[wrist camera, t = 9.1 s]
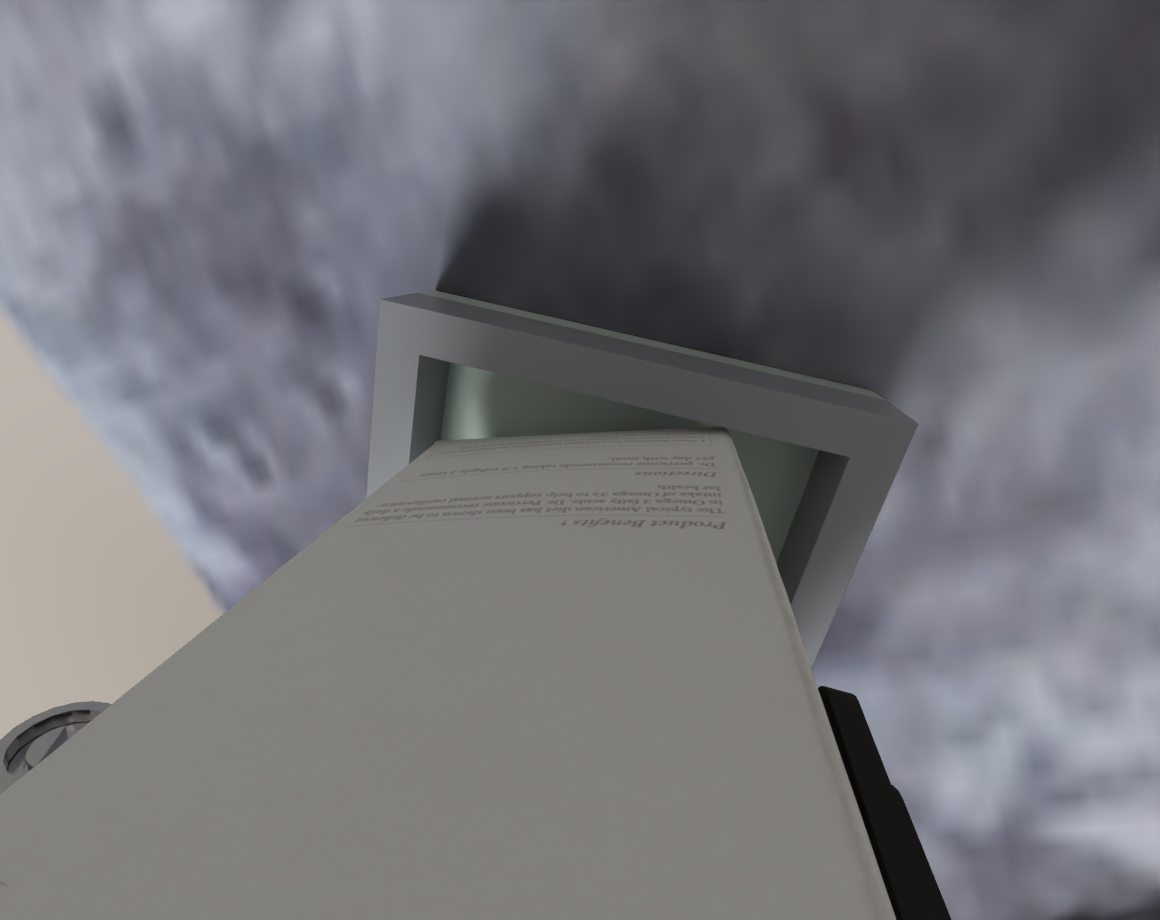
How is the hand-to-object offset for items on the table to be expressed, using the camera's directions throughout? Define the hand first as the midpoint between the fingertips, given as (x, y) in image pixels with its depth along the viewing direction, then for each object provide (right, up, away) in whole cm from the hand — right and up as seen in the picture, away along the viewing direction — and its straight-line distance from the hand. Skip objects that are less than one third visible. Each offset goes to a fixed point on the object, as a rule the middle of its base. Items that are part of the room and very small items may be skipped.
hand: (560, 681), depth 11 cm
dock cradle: (+1, +2, +6) cm, 7 cm away
